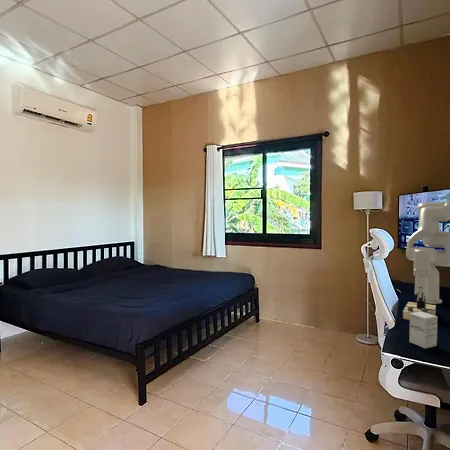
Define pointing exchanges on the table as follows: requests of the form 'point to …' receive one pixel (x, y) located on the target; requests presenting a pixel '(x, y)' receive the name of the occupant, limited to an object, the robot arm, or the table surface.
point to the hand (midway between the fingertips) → (421, 307)
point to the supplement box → (423, 329)
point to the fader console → (417, 309)
